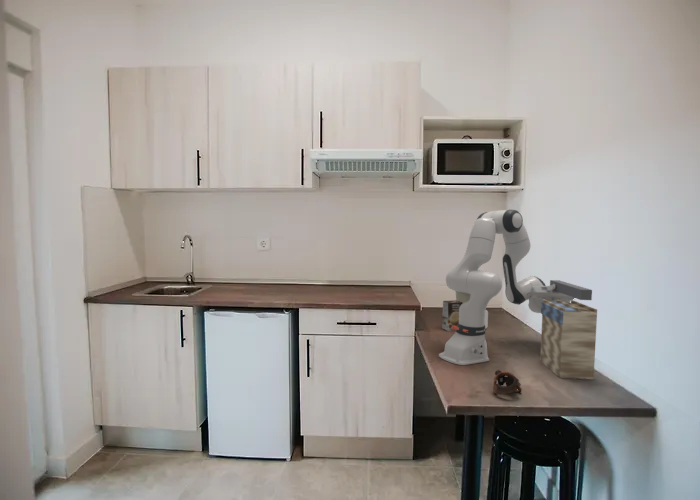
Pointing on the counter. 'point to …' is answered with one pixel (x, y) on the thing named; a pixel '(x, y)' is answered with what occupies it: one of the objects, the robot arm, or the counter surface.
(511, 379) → the pottery mug
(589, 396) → the counter surface
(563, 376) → the duct stand
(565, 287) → the dark gray block
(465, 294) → the canister
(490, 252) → the robot arm
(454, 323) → the coffee box
